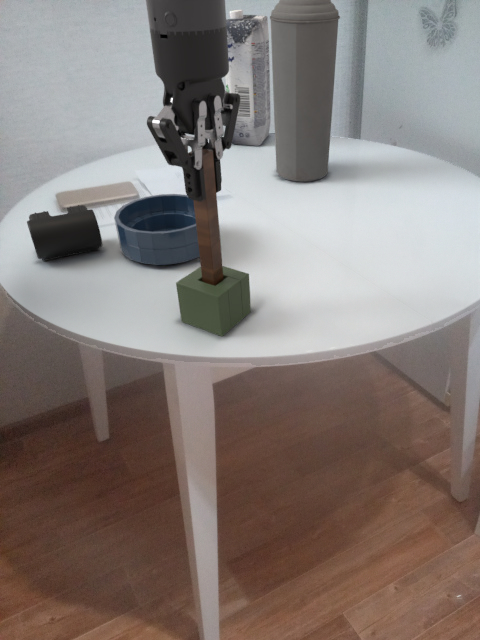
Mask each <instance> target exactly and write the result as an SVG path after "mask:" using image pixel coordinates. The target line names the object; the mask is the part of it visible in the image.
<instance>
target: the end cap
mask: <svg viewBox="0 0 480 640" xmlns="http://www.w3.org/2000/svg"><path fill="white" fill-rule="evenodd" d="M66 210H67V213H62V214H57V215H51V214H50V212H49V211H48V210H46V211H45V210H43V211H41V212H34V213H31V214H29V216H28V219H29V220H27V221H26V225H27V228H28V231H29V234H30V237H31V240H32V244H33V247H34V251H35V253H36V256H37V258H38V259H39V260H40V259H41V261H42V262H43V261H48V260H52V259H53V260H54V259H59V258H63V257H66V256H73V255H79V254H83V253H88V252H93V251H97V250H100V248H101V247H102V246H103V240H102V239H103V238H102V234H101V230H100V226H99V222H98V220H97V216H96V214H95V211H94V210H93V209H88V207H87V206H86V205H83V204H82V205H80V204H78V205H75V206H69V207H66Z"/></svg>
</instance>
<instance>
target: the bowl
mask: <svg viewBox="0 0 480 640" xmlns="http://www.w3.org/2000/svg"><path fill="white" fill-rule="evenodd" d="M113 220H114V225H115V230H116V234H117V238H118V243H119V248H120V251H121V253H122V255H123V256H125V257H126V258H128V259H129V260H130V261H134V262H137V263H141V264H144V265H145V264H148V265H156V266H166V265H167V266H169V265H176V264H177V265H178V264H182V263H187V262H189V261H192V260H195V259H197V258H200V255H199V246H198V237H197V228H196V219H195V210H194V201H193V200H191V199H189V197H188V196H187V194H181V193H180V194H179V193H165V194H164V193H163V194H156V195H155V194H154V195H149V196H144V197H140V198H137V199H134V200H131V201H130V202H128V203H125V204H123V205H122V206H121V207H120V208H118V209H117V210H116V212H115V214H114V216H113Z"/></svg>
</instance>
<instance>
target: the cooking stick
mask: <svg viewBox="0 0 480 640" xmlns="http://www.w3.org/2000/svg"><path fill="white" fill-rule="evenodd" d="M188 154H189V156H192V150H191V151H188ZM201 168H203V169H204V179H205V190H206V199H205V200H203V201H201V202H199V201H195V200H193V201H194V210H195V219H196V228H197V237H198V246H199V255H200V257H199V263H200V266H201V272H202V281H203V282H205V283H208V284H211V285H214V286H216V285H217V284H219V283H220V282H221V281H223V280H224V278H223V266H224V265H223V256H222V243H221V233H220V232H221V231H220V221H219V220H220V219H219V209H218V208H219V206H218V195H217V193H216V183H215V171H214V159H213V151H212V150H207V149H202V167H201Z"/></svg>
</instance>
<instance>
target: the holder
mask: <svg viewBox="0 0 480 640" xmlns="http://www.w3.org/2000/svg"><path fill="white" fill-rule="evenodd" d="M222 266H223V278H224V280H223V281H221V282H220V283H219V284H217V285H216V286H214V285H211V284H208V283H205V282H203V281H202V272H201V265H200V266H199V267H197V268H196V269H195V270H193V271H191V272H190V273H189V274H187V275H186V276H184V277H182V278H181V279H180V280H178V281H176V282H175V286H176V293H177V300H178V306H179V313H180V314H179V315H180V321H181V322H182V323H183V324H187V325H190V326H191V327H192V326H193V327H195V328H198V329H201V330H203V331H206V332H209V333H212V334H214V335H216V336H220V337H224V336H225V335H226V334H227V333H228V332H229V331H230V330H232V329H233V328H234V327H235V326H237V325H238V324H239V323H240V322H241V321H242V320H243V319H245V318H246V317H247V316H248V315H249V314H251V313H252V307H251V305H252V304H251V288H250V286H251V285H250V274H249V273H248V272H244V271H242V270H239V269H238V270H237V269H235V268H231V267H227V266H224V265H222Z"/></svg>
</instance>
